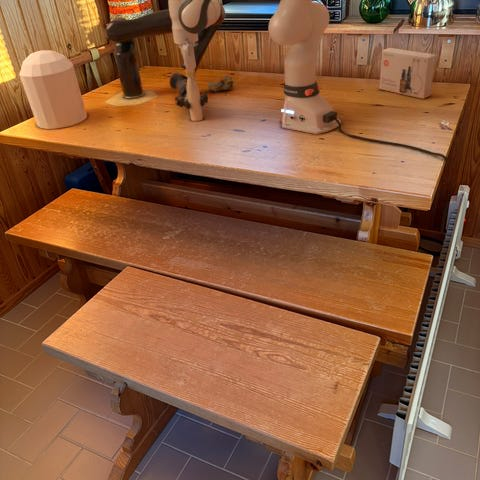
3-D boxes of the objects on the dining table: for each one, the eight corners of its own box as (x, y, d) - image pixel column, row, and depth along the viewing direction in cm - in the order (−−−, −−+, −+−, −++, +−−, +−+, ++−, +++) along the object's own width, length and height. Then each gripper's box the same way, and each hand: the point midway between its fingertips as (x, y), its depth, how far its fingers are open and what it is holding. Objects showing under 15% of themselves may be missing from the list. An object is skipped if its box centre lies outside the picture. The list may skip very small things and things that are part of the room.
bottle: (202, 116, 186) (195, 69, 176) (203, 119, 182) (197, 71, 172) (190, 117, 186) (183, 70, 175) (191, 121, 182) (184, 73, 171)
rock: (207, 90, 217) (212, 93, 208) (206, 76, 214) (210, 78, 205) (229, 87, 219) (235, 90, 210) (228, 73, 216) (233, 75, 207)
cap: (184, 76, 173) (183, 70, 172) (186, 74, 176) (185, 67, 175) (194, 76, 173) (193, 69, 171) (196, 73, 176) (195, 67, 174)
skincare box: (377, 89, 194) (381, 50, 185) (385, 86, 197) (389, 47, 188) (423, 99, 180) (429, 56, 171) (430, 95, 183) (437, 53, 174)
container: (71, 129, 186) (49, 56, 170) (26, 128, 191) (0, 58, 175) (96, 110, 202) (78, 43, 186) (54, 111, 207) (33, 45, 191)
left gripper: (169, 86, 189) (176, 98, 175) (203, 81, 191) (213, 92, 177) (172, 105, 193) (179, 117, 179) (206, 99, 195) (215, 111, 182)
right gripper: (196, 41, 159) (202, 81, 166) (191, 30, 175) (196, 68, 183) (178, 43, 158) (184, 84, 166) (175, 32, 175) (181, 70, 183)
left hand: (196, 105), depth 178 cm, fingers closed on bottle, 5 cm apart
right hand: (191, 75), depth 175 cm, fingers closed on cap, 4 cm apart
